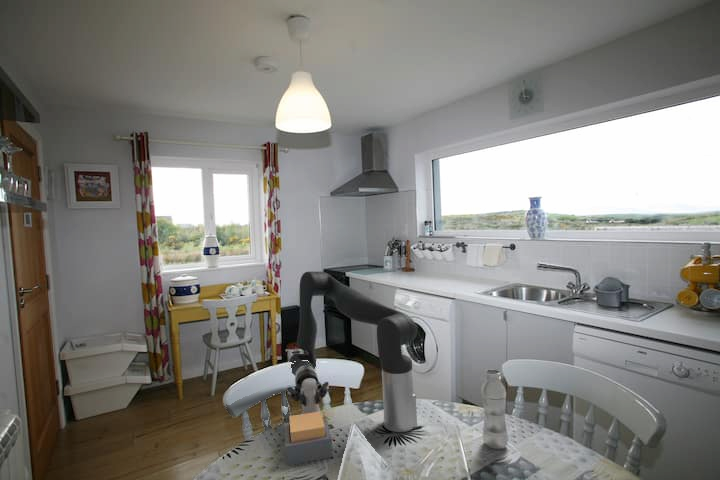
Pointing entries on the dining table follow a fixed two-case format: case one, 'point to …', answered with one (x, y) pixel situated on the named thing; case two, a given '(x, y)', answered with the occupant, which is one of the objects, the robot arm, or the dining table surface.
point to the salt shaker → (310, 396)
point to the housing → (308, 447)
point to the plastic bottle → (494, 411)
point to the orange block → (306, 426)
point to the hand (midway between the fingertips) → (311, 401)
